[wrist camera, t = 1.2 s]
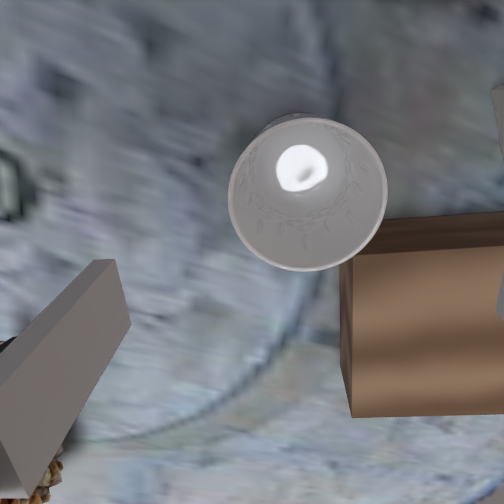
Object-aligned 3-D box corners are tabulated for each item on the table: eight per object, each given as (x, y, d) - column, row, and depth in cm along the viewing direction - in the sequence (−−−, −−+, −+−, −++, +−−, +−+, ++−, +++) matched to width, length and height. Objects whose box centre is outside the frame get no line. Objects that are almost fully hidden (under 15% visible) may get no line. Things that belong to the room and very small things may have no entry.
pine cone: (88, 470, 44) (39, 572, 35) (5, 461, 44) (-65, 560, 35) (65, 305, 35) (-9, 386, 26) (-39, 294, 35) (-150, 370, 26)
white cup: (370, 127, 27) (418, 151, 18) (325, 226, 30) (346, 290, 21) (264, 87, 26) (257, 92, 17) (229, 193, 30) (208, 245, 20)
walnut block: (339, 223, 30) (353, 255, 24) (530, 209, 29) (590, 240, 23) (340, 365, 36) (351, 417, 30) (500, 359, 34) (542, 413, 29)
